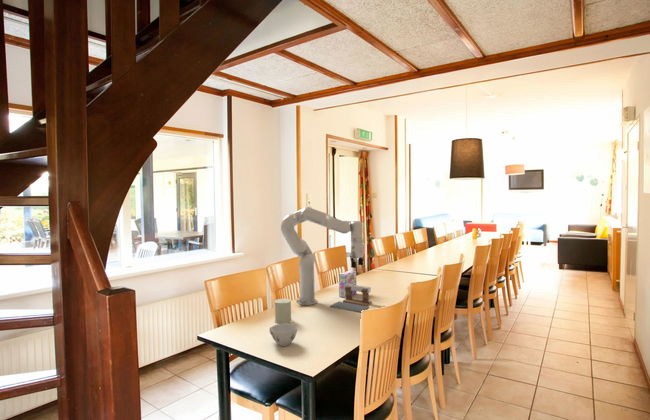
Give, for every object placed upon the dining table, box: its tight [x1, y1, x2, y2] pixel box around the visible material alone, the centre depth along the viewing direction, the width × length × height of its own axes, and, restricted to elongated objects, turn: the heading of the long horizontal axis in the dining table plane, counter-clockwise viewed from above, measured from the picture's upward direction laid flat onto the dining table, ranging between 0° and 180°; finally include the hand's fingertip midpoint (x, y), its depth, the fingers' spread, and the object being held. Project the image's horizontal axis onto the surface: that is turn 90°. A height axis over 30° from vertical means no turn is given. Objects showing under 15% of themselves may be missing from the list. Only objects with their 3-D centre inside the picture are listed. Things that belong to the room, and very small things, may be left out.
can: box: [274, 298, 292, 325], centre depth 203 cm, size 9×9×12 cm
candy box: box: [338, 270, 357, 299], centre depth 252 cm, size 14×6×16 cm, turn 143°
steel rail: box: [344, 284, 372, 294], centre depth 234 cm, size 3×18×3 cm, turn 58°
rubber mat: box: [329, 301, 370, 314], centre depth 226 cm, size 11×22×1 cm, turn 57°
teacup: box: [269, 323, 298, 347], centre depth 172 cm, size 15×12×8 cm
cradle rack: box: [342, 287, 373, 307], centre depth 235 cm, size 8×17×10 cm, turn 57°
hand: (357, 266), depth 234 cm, fingers open, 9 cm apart
